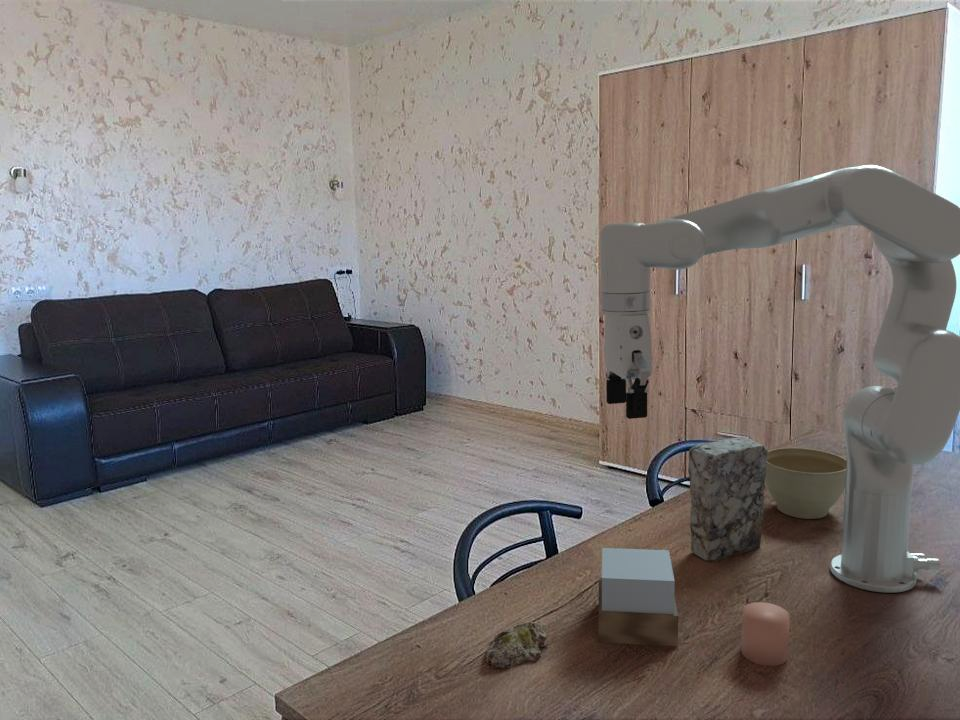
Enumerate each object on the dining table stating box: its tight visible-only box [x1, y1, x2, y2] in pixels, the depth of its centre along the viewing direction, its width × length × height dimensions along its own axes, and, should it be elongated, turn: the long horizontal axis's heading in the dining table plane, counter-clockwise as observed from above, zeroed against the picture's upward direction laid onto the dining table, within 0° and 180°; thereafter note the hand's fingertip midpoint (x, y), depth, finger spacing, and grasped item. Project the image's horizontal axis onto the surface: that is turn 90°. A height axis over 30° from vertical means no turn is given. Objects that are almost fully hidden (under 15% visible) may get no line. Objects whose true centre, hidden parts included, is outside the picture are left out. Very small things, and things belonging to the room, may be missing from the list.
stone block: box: [687, 436, 769, 563], centre depth 134 cm, size 13×7×20 cm, turn 120°
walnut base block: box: [598, 575, 679, 647], centre depth 112 cm, size 11×11×5 cm
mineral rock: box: [485, 621, 548, 670], centre depth 107 cm, size 11×4×8 cm
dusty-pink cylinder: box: [740, 601, 791, 667], centre depth 103 cm, size 6×6×6 cm
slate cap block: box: [601, 547, 676, 614], centre depth 111 cm, size 10×10×5 cm
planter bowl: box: [765, 447, 847, 520], centre depth 152 cm, size 16×16×11 cm
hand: (626, 410), depth 121 cm, fingers open, 9 cm apart
